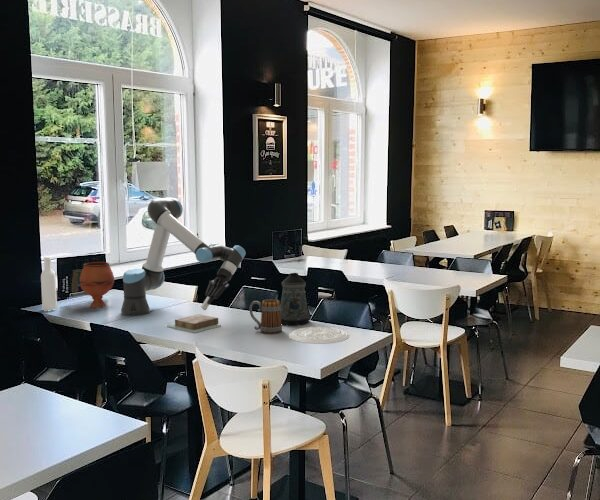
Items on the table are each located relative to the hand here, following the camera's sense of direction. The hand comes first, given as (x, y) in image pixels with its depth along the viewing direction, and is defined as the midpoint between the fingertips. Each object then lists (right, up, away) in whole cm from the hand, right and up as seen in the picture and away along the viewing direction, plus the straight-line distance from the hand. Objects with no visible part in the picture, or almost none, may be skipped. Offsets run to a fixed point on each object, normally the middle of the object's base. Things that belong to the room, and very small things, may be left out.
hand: (203, 308), depth 326 cm
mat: (-4, -9, -4) cm, 10 cm away
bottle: (-91, -4, +37) cm, 99 cm away
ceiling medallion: (+57, -11, -23) cm, 63 cm away
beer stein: (+45, -8, +6) cm, 46 cm away
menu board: (+2, -6, +3) cm, 7 cm away
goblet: (-68, -3, +47) cm, 83 cm away
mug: (+32, -10, -15) cm, 37 cm away
